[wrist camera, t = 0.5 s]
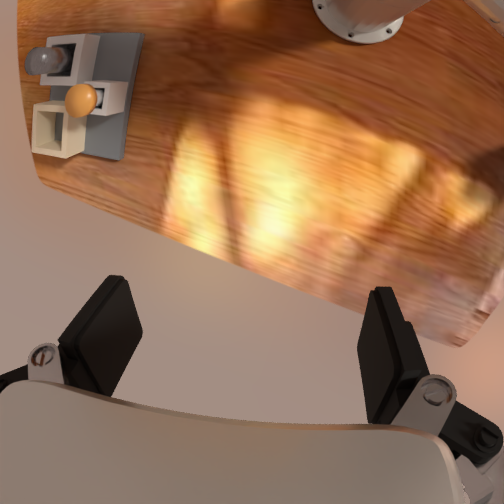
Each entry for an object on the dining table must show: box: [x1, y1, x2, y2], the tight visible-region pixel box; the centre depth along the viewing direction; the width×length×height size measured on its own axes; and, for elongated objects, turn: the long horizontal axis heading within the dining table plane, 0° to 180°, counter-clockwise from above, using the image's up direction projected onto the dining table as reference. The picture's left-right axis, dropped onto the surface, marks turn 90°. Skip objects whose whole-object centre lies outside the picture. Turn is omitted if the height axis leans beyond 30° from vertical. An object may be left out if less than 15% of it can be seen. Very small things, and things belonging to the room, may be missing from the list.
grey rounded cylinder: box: [25, 47, 75, 75], centre depth 31 cm, size 4×4×10 cm
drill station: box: [32, 33, 145, 160], centre depth 37 cm, size 20×16×6 cm
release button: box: [65, 84, 105, 118], centre depth 33 cm, size 4×4×6 cm
